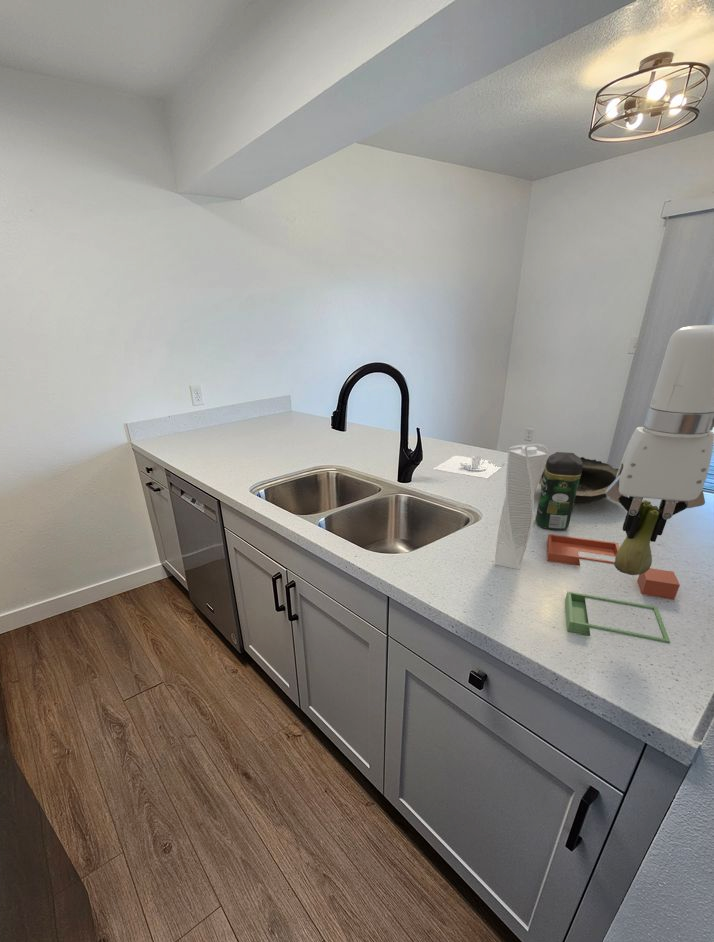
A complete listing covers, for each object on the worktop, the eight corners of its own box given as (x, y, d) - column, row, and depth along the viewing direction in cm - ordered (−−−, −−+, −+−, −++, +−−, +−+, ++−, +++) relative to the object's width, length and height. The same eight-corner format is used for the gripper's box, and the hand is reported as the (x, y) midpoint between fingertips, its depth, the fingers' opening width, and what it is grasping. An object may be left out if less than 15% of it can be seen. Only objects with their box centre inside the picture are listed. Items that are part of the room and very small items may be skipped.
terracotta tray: (615, 550, 101) (617, 542, 100) (621, 572, 92) (624, 564, 91) (546, 541, 106) (548, 533, 105) (547, 561, 98) (549, 553, 97)
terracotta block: (665, 593, 85) (673, 571, 83) (671, 607, 81) (680, 585, 79) (634, 588, 87) (641, 566, 85) (638, 601, 83) (646, 579, 81)
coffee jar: (534, 514, 120) (547, 448, 112) (566, 518, 117) (582, 450, 109) (534, 529, 112) (549, 459, 104) (569, 533, 109) (587, 461, 101)
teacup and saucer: (457, 469, 158) (459, 458, 156) (466, 463, 163) (467, 452, 161) (481, 473, 153) (483, 461, 151) (490, 467, 158) (491, 456, 156)
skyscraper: (524, 574, 94) (550, 446, 81) (488, 566, 97) (507, 443, 85) (528, 557, 100) (552, 436, 87) (493, 551, 103) (512, 434, 91)
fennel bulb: (617, 559, 76) (639, 496, 71) (651, 569, 73) (676, 503, 68) (607, 572, 73) (629, 506, 67) (642, 583, 70) (667, 515, 64)
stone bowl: (600, 482, 138) (609, 454, 133) (636, 520, 117) (648, 489, 112) (517, 480, 142) (523, 453, 137) (538, 517, 121) (546, 486, 117)
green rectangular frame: (653, 616, 79) (657, 606, 78) (666, 651, 71) (670, 641, 70) (565, 600, 85) (567, 591, 84) (567, 631, 77) (570, 621, 76)
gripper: (741, 418, 61) (695, 534, 70) (608, 414, 68) (581, 520, 76) (762, 430, 56) (709, 555, 64) (614, 424, 62) (584, 539, 70)
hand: (639, 535), depth 70 cm, fingers closed on fennel bulb
